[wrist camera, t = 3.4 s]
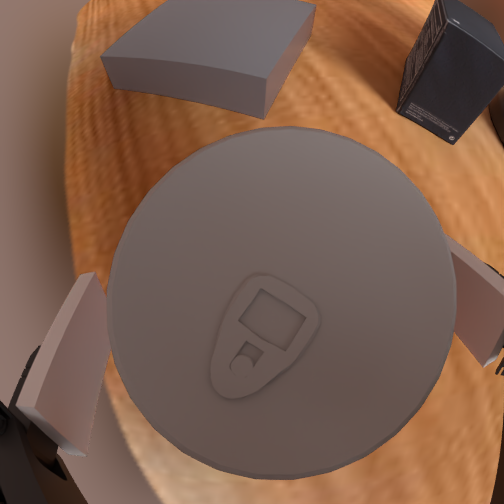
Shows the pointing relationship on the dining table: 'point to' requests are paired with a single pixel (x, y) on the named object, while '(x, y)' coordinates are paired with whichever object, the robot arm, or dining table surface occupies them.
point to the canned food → (281, 303)
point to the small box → (451, 70)
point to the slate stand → (213, 51)
